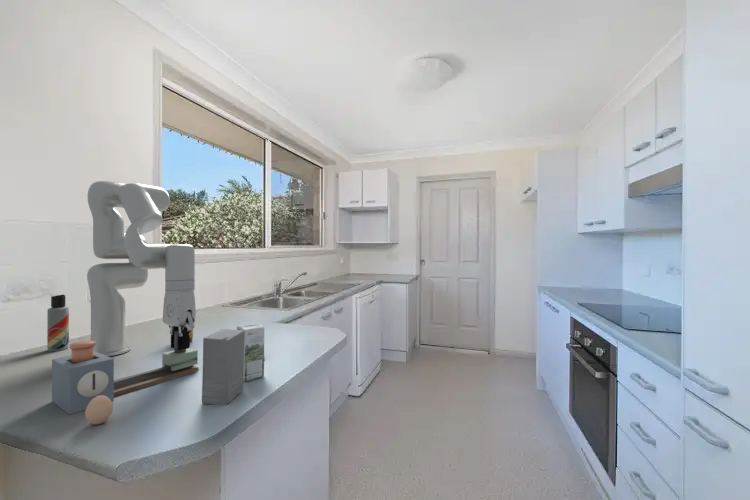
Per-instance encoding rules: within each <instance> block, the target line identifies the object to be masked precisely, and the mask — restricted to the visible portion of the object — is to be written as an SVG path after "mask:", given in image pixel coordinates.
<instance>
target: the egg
mask: <svg viewBox="0 0 750 500" xmlns="http://www.w3.org/2000/svg"><path fill="white" fill-rule="evenodd" d="M113 404H114V403H113V401H111V400H110V399H109V398H108V397H107V396H104V395H99V396H97V397H95V398H93V399H92V400H91V401H90V403H89V404H88V406H87V408H86V410H84V411H85V412H84V416H85V419H86V421H87V422H88V423H90V424H91V425H100V424H103V423H104V422H106V421H107V420H108V419H109V418H110V417H111V415H112V414H113V410H114V405H113Z"/></svg>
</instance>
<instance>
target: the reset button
mask: <svg viewBox="0 0 750 500" xmlns="http://www.w3.org/2000/svg"><path fill="white" fill-rule="evenodd" d="M95 345H96V341H91V340H81V341H76V342H73V343H70V344H69V349H70V350H71V355H72V364H75V363H80V362H84V361H89V360H93V359H94V346H95Z"/></svg>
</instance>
